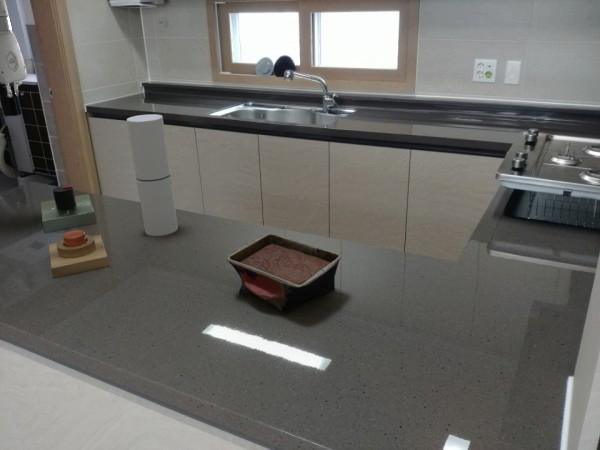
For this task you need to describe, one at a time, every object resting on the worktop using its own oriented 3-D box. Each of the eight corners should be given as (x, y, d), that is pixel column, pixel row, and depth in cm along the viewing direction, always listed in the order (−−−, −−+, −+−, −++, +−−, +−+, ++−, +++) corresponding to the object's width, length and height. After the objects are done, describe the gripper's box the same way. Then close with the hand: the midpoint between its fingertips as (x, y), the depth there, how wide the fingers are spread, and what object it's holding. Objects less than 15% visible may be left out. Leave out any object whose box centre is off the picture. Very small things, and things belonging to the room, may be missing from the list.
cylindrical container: (139, 235, 117) (119, 121, 107) (154, 222, 124) (137, 114, 114) (169, 237, 116) (152, 122, 106) (183, 224, 122) (168, 114, 112)
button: (64, 242, 106) (62, 232, 106) (85, 237, 108) (83, 228, 107) (65, 249, 103) (63, 240, 102) (87, 245, 105) (85, 235, 104)
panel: (43, 213, 132) (40, 201, 131) (90, 205, 136) (88, 193, 135) (45, 233, 120) (42, 220, 119) (96, 223, 125) (94, 210, 123)
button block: (51, 254, 110) (46, 236, 109) (102, 243, 114) (98, 226, 112) (53, 278, 100) (49, 259, 98) (109, 266, 104) (105, 247, 102)
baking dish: (288, 338, 83) (296, 283, 79) (216, 286, 93) (219, 235, 89) (346, 306, 93) (356, 256, 89) (275, 262, 103) (281, 215, 99)
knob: (57, 211, 124) (52, 191, 123) (56, 205, 128) (51, 186, 126) (77, 207, 126) (72, 188, 124) (75, 201, 130) (71, 183, 128)
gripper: (-14, 28, 104) (9, 122, 111) (28, 24, 118) (46, 108, 125) (-51, 29, 104) (-25, 123, 112) (-5, 25, 118) (16, 109, 125)
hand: (13, 115), depth 118 cm, fingers closed
